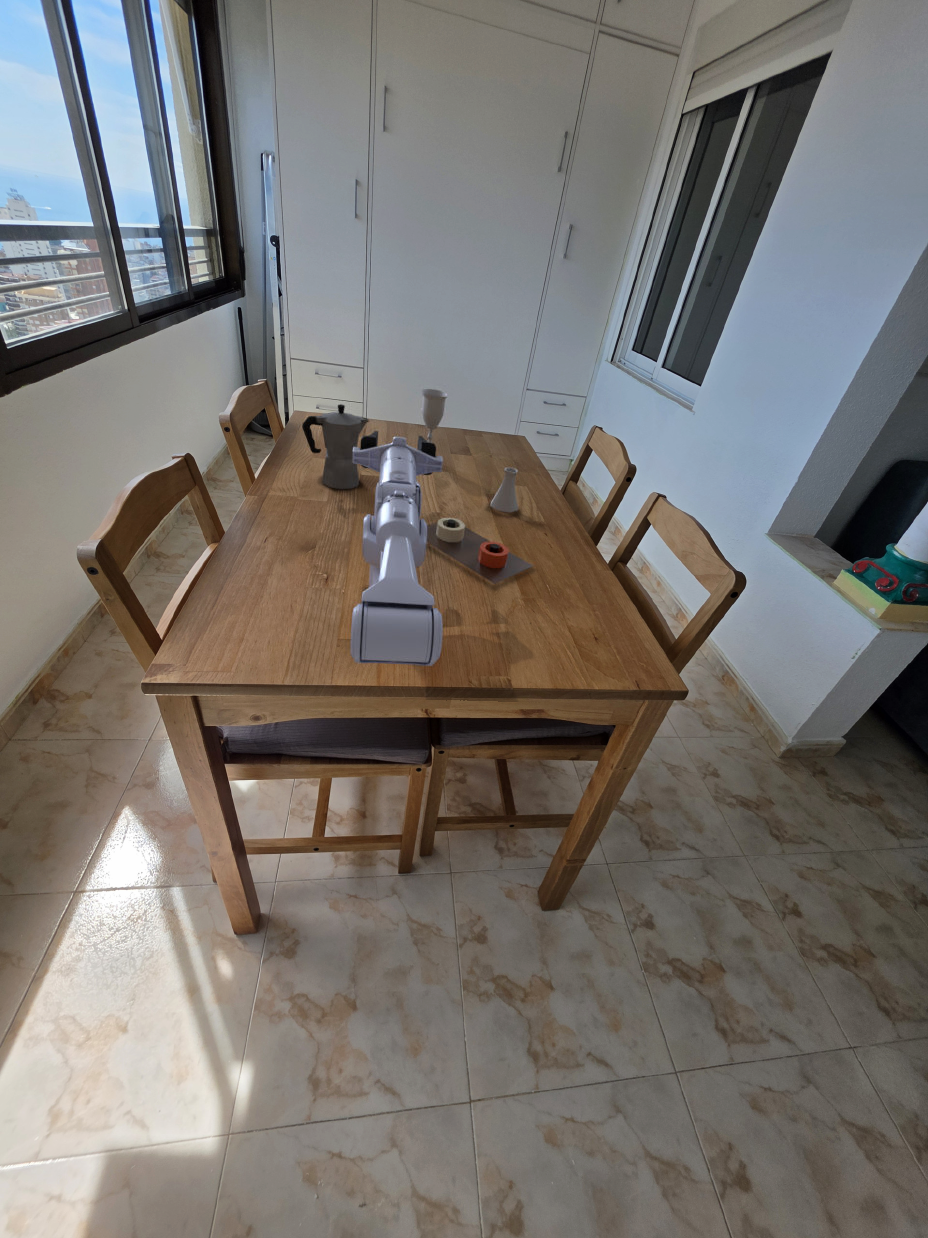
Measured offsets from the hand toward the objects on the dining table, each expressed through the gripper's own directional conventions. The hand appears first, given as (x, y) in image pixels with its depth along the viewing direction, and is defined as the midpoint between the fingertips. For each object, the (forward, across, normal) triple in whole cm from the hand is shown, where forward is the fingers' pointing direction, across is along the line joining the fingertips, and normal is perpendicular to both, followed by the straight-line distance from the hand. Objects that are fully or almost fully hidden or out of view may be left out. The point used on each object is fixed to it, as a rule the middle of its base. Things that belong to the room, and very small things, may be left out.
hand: (398, 438), depth 94 cm
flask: (+21, -27, +24) cm, 42 cm away
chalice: (+49, -10, +26) cm, 56 cm away
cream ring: (+3, -12, +21) cm, 25 cm away
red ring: (-6, -20, +20) cm, 29 cm away
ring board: (-1, -16, +22) cm, 27 cm away
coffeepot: (+28, +13, +24) cm, 39 cm away
